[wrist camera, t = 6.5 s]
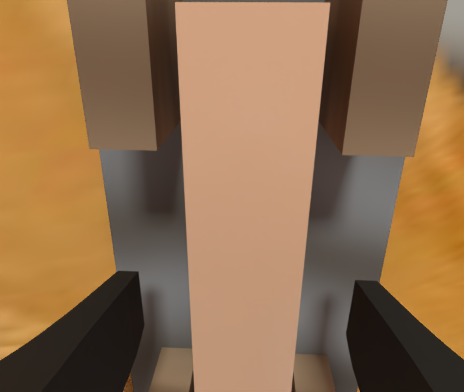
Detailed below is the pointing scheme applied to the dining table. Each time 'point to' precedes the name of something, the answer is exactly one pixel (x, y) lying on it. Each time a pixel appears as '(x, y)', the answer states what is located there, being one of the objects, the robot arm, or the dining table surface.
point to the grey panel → (324, 174)
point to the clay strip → (248, 181)
